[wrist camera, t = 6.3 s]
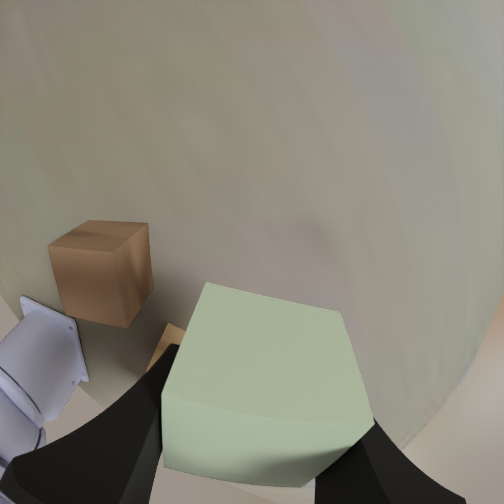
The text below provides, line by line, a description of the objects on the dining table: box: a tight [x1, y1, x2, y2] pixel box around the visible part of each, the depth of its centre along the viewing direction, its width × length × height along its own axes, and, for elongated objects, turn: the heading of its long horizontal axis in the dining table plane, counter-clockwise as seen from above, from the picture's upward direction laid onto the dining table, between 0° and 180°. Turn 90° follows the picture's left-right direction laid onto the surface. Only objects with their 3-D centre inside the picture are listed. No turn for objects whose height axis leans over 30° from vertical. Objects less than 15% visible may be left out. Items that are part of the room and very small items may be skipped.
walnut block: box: [48, 220, 154, 329], centre depth 16 cm, size 5×5×5 cm
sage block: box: [162, 282, 375, 487], centre depth 8 cm, size 5×5×5 cm
